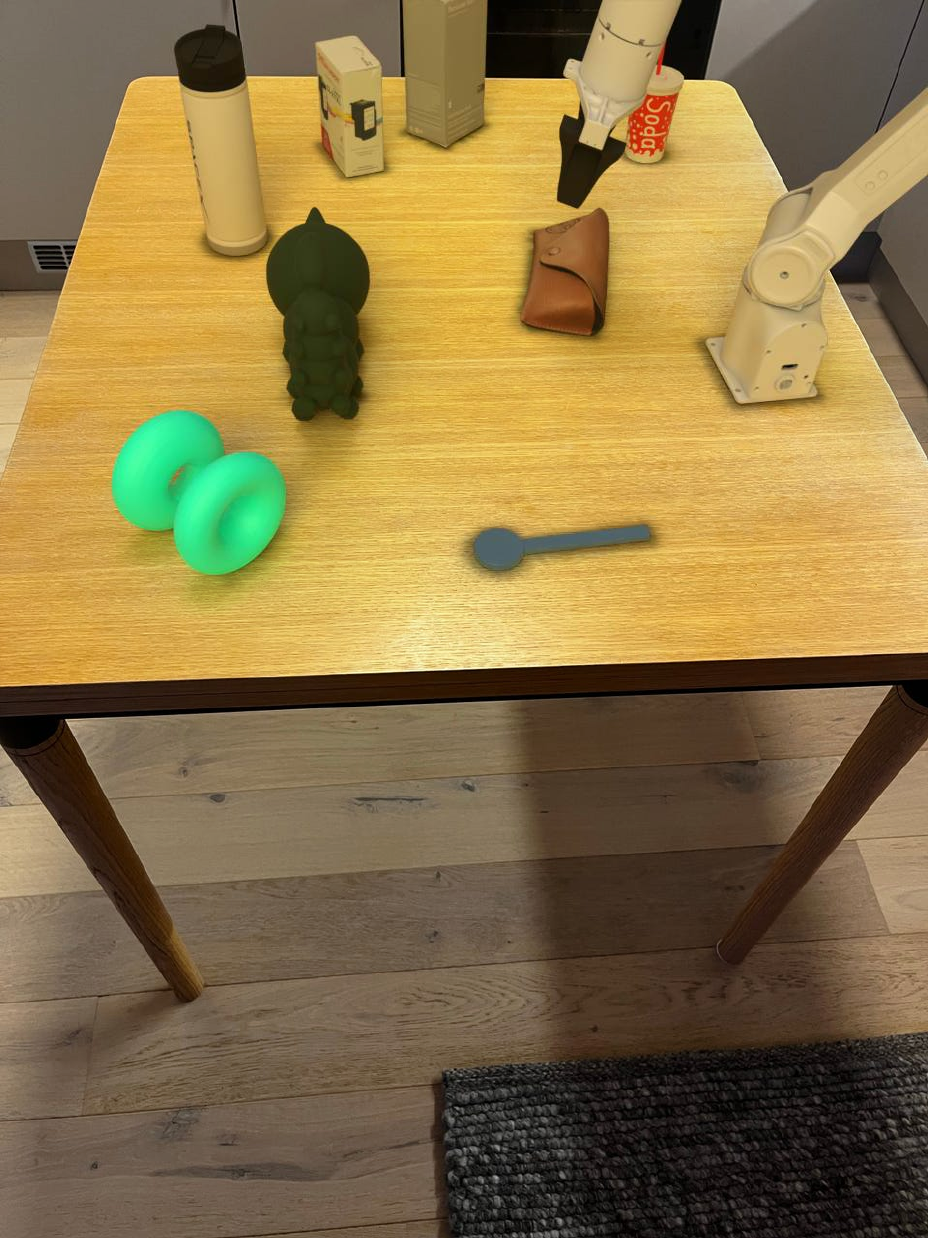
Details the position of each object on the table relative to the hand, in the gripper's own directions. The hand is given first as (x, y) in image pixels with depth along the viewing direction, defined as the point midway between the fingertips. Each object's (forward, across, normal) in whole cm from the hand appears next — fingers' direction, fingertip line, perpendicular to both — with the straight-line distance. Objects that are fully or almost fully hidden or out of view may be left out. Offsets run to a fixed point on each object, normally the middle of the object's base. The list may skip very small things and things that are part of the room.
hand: (575, 180), depth 90 cm
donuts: (+17, +38, -18) cm, 46 cm away
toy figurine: (+18, +15, -16) cm, 28 cm away
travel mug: (+22, -3, -31) cm, 38 cm away
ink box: (+21, -23, -25) cm, 40 cm away
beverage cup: (+14, -34, +7) cm, 38 cm away
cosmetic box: (+19, -33, -17) cm, 42 cm away
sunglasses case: (+14, -5, +3) cm, 15 cm away
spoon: (+11, +32, +8) cm, 35 cm away
